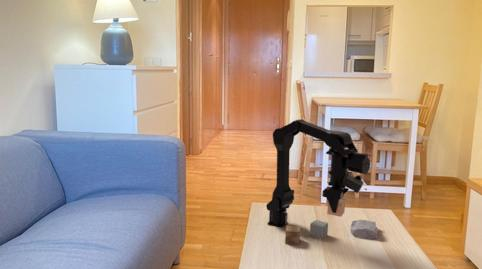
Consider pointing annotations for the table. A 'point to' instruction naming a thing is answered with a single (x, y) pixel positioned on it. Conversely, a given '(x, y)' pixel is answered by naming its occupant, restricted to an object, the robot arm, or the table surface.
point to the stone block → (364, 229)
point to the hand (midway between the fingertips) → (335, 210)
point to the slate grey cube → (319, 229)
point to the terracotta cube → (339, 210)
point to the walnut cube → (292, 235)
